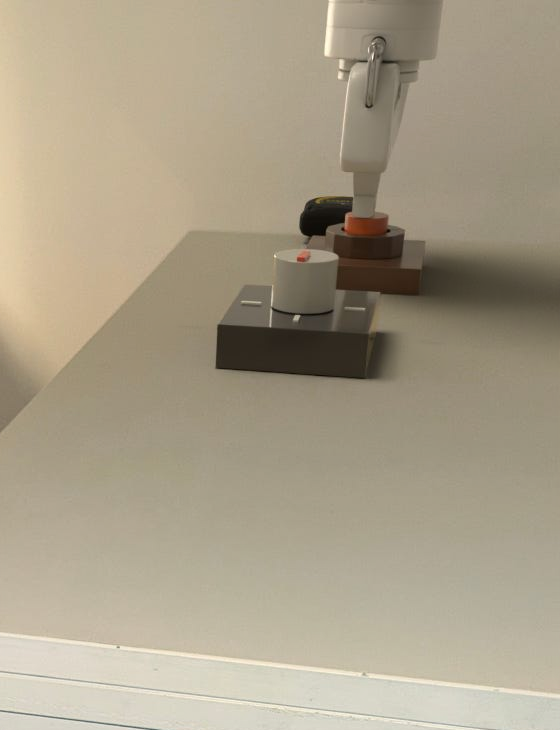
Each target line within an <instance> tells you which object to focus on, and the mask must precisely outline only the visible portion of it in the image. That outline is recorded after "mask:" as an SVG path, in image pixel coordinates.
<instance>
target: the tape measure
mask: <svg viewBox="0 0 560 730" xmlns="http://www.w3.org/2000/svg"><path fill="white" fill-rule="evenodd" d="M353 197H354V196H345V195H344V196H343V195H329V196H327V195H326V196H319V197H315V198H311V199H309V200H308V201H307V202H306V203H305V205H304V208H303V210H302V212H301V213H300V216H299V222H298V224H299V225H298V228H299V231H300V233H301V234H302V235H303V236H305V237H309V238H311V237H312V236H326V230H327V228H328V226H332V225H336V224H341V223H345V215H346V213H349V212H352V208H353ZM374 212H376V210H375V211H374Z"/></svg>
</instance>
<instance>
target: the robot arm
mask: <svg viewBox="0 0 560 730" xmlns="http://www.w3.org/2000/svg"><path fill="white" fill-rule="evenodd" d="M327 1H328V3H327V13H326V14H327V15H326V27H325V39H324V49H323V56H324V57H325V58H328V59H334V60H338V71H337V79H338V80H339V81H341V82H347V85H346V92H345V93H346V94H345V100H344V111H343V121H342V130H341V141H340V150H339V166H340V170H341V171H342V172H345V173H353V174H352V179H353V180H352V182H353V187H352V189H353V196H352V197H353V208H352V214H353V216H355V217H356V218H371V217H372V216H373V214H374V211H375V212H376V208H377V201H378V191H379V186H380V181H381V175H382V174H383V173H385V172H386V171H387V170H388V169H387V168H388V166H389V163H390V159H391V156H392V153H393V150H394V147H395V144H396V141H397V139H398V135H399V132H400V127H401V123H402V119H403V115H404V110H405V105H406V102H407V97H408V93H409V87H410V83H411V84H412V83H416V82H417V81H418V79H419V68H420V62H423V61H430V60H431V61H432V60H435V59H436V58H437V56H438V45H439V37H440V30H441V21H442V13H443V3H444V0H327Z"/></svg>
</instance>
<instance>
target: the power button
mask: <svg viewBox="0 0 560 730" xmlns="http://www.w3.org/2000/svg"><path fill="white" fill-rule="evenodd" d="M389 217H390V216H389V214H388V213H385V212H380V211H375V212H374V214H373V216H372V217H371V218H356V217H355V216H353V214H352V212H349V213H346V215H345V227H344V232H347V233H353V234H365V235H374V234H385V233H387V229H388V225H389V221H390V219H389Z"/></svg>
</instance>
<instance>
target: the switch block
mask: <svg viewBox="0 0 560 730" xmlns="http://www.w3.org/2000/svg"><path fill="white" fill-rule="evenodd" d="M344 227H345V223H341V224H336V225H332V226H328V228H327V230H326V236H312V237H310V239H309V241H308V243H307V245H306V246H305V248H304V249H314V250H323V251H328V252H332V253H335V254H337V255H338V256H339V263H338V274H337V285H336V290H352V291H369V292H380V295H393V296H395V295H396V296H411V297H418V296H419V292H420V288H421V287H420V285H421V281H422V280H421V279H422V273H423V269H424V268H423V267H424V260H425V259H424V258H425V251H426V244H427V242H426V240H415V239H405V236H406V229H405V228H401V227H400V226H397V225H392V224H388V229H387V233H385V234H374V235H365V234H353V233H347V232H344Z"/></svg>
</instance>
